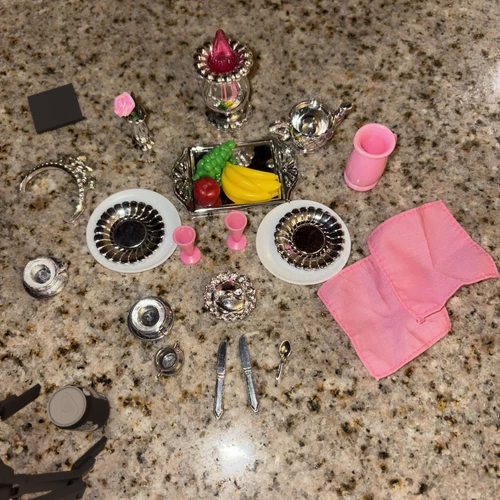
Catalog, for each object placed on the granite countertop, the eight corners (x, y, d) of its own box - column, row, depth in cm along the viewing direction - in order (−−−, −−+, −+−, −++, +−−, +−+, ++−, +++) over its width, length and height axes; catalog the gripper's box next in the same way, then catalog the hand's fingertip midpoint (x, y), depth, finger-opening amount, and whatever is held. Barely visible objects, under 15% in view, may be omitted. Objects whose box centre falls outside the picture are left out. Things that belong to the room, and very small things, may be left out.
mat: (28, 99, 108) (26, 96, 107) (73, 85, 109) (71, 82, 108) (38, 134, 105) (36, 132, 104) (83, 120, 106) (82, 117, 105)
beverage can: (78, 438, 82) (49, 436, 71) (68, 400, 84) (39, 393, 73) (115, 422, 83) (93, 418, 71) (105, 385, 85) (82, 376, 74)
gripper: (-133, 473, 62) (8, 385, 80) (9, 608, 56) (125, 480, 74) (-131, 435, 58) (16, 353, 77) (20, 574, 53) (140, 449, 71)
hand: (70, 415), depth 76 cm, fingers open, 13 cm apart
